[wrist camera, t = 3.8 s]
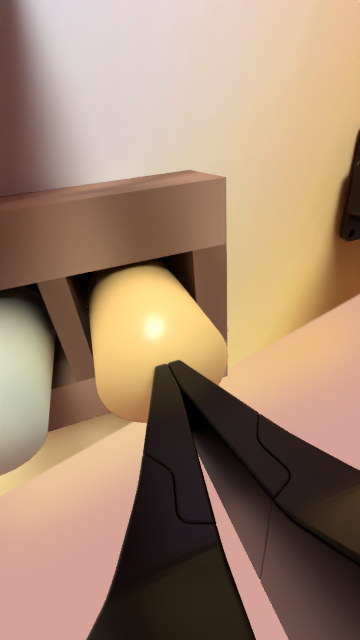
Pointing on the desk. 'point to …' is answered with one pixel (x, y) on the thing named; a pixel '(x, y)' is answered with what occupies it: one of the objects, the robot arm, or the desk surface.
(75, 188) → the wooden three-slot tray
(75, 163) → the desk surface
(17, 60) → the desk surface
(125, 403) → the yellow rounded cylinder
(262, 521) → the robot arm
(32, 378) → the pale green rounded block
